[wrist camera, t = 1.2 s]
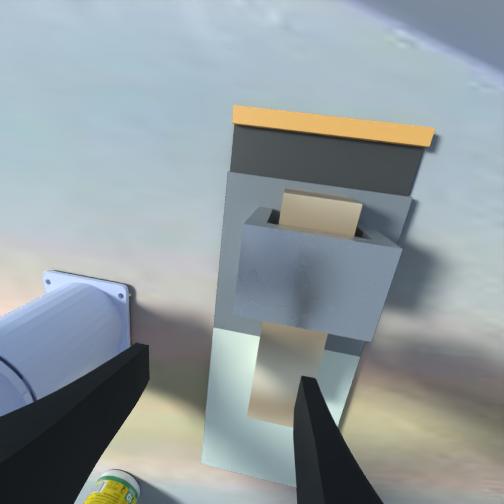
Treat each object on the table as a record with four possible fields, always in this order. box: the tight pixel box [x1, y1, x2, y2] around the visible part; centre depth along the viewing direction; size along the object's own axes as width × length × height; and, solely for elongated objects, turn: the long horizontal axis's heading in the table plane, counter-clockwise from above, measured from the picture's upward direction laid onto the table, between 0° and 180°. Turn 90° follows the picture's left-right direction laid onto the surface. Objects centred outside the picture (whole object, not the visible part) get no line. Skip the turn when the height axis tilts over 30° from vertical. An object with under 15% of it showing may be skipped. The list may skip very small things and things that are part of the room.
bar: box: [247, 188, 363, 428], centre depth 17 cm, size 16×4×4 cm, turn 173°
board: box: [201, 105, 435, 488], centre depth 21 cm, size 34×12×1 cm, turn 173°
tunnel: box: [233, 207, 403, 342], centre depth 15 cm, size 5×7×6 cm
